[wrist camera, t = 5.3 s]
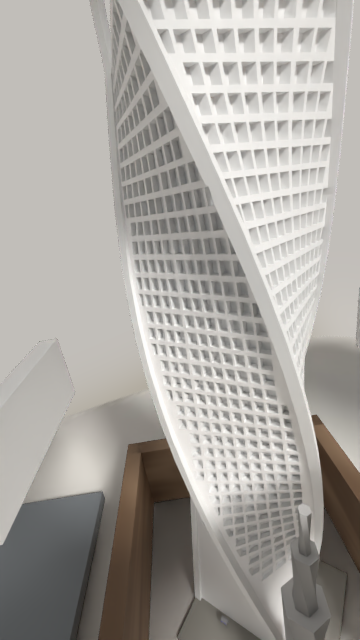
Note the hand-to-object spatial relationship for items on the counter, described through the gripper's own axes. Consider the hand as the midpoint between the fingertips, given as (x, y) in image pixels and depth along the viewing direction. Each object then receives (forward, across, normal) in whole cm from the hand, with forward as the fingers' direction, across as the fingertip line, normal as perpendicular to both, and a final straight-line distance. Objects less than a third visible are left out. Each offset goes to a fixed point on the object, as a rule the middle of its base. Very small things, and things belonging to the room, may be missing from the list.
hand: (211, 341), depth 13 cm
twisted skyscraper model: (-2, +1, -16) cm, 16 cm away
